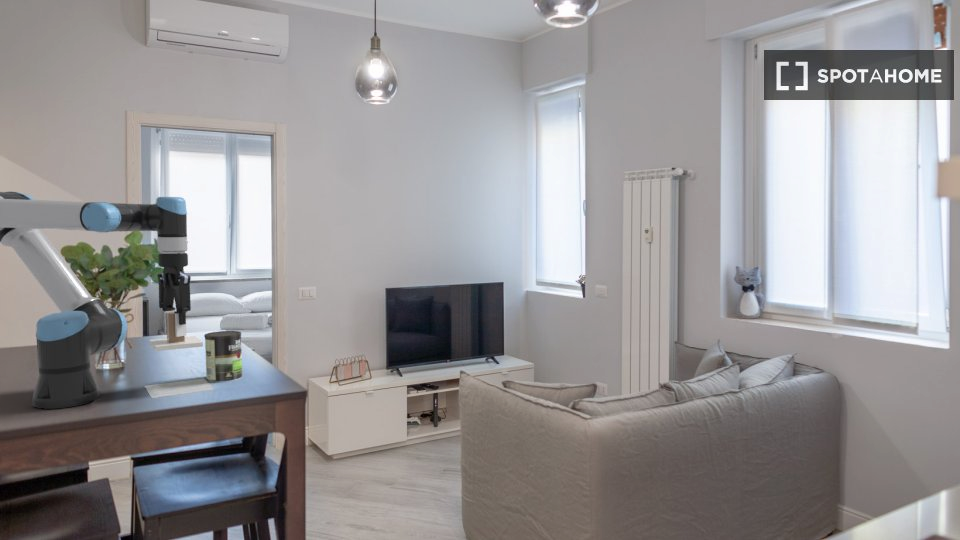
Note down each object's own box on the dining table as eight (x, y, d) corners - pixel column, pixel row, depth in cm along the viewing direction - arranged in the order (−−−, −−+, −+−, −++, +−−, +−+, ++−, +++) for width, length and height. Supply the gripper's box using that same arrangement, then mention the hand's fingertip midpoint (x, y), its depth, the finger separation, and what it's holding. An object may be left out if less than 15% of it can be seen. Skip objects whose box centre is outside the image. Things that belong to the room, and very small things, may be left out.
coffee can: (249, 376, 203) (247, 330, 202) (230, 384, 193) (228, 336, 192) (219, 375, 205) (217, 330, 204) (198, 383, 195) (196, 335, 194)
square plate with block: (155, 351, 179) (154, 317, 178) (149, 344, 189) (148, 311, 188) (202, 346, 185) (201, 313, 185) (194, 340, 195) (193, 309, 195)
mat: (151, 400, 177) (151, 398, 177) (144, 388, 190) (144, 385, 190) (215, 391, 185) (214, 389, 185) (203, 380, 199) (203, 378, 199)
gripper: (203, 253, 183) (205, 336, 184) (169, 250, 193) (171, 329, 195) (177, 254, 177) (179, 340, 178) (143, 251, 187) (146, 333, 189)
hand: (175, 334), depth 187 cm, fingers closed on square plate with block, 5 cm apart
